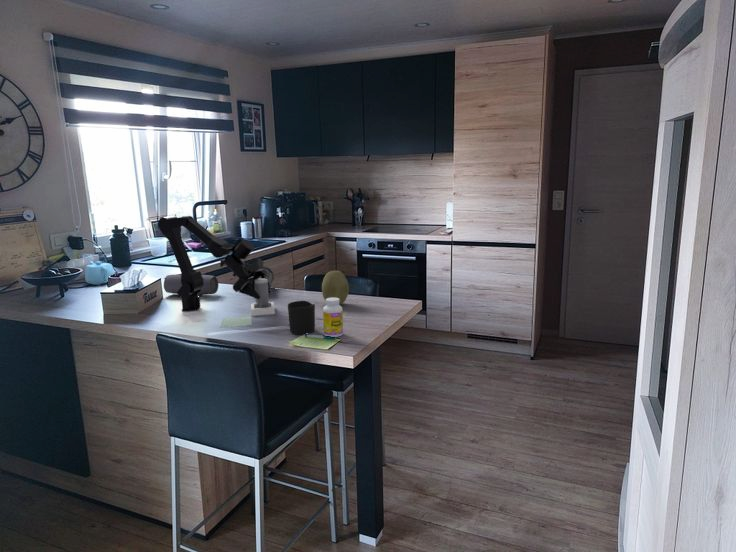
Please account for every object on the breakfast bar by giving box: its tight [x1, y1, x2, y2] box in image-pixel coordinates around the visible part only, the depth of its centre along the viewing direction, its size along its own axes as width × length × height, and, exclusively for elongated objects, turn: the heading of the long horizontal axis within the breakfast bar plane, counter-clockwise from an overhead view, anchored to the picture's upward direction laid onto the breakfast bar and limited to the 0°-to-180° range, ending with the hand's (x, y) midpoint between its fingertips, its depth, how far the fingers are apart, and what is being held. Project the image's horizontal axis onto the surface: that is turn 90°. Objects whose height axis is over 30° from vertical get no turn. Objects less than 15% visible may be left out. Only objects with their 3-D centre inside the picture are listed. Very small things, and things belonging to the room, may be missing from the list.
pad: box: [220, 316, 253, 328], centre depth 189 cm, size 11×11×1 cm
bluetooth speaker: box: [163, 273, 219, 297], centre depth 232 cm, size 23×9×10 cm, turn 80°
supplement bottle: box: [322, 297, 344, 338], centre depth 173 cm, size 7×7×13 cm
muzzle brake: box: [251, 265, 275, 289], centre depth 237 cm, size 10×28×10 cm, turn 7°
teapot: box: [84, 260, 116, 286], centre depth 262 cm, size 12×18×12 cm
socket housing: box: [250, 301, 276, 317], centre depth 201 cm, size 9×9×4 cm
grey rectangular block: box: [255, 278, 270, 308], centre depth 200 cm, size 5×5×13 cm
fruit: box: [321, 269, 350, 306], centre depth 211 cm, size 11×11×15 cm
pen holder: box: [287, 300, 316, 336], centre depth 178 cm, size 9×9×10 cm
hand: (265, 295), depth 199 cm, fingers open, 9 cm apart
